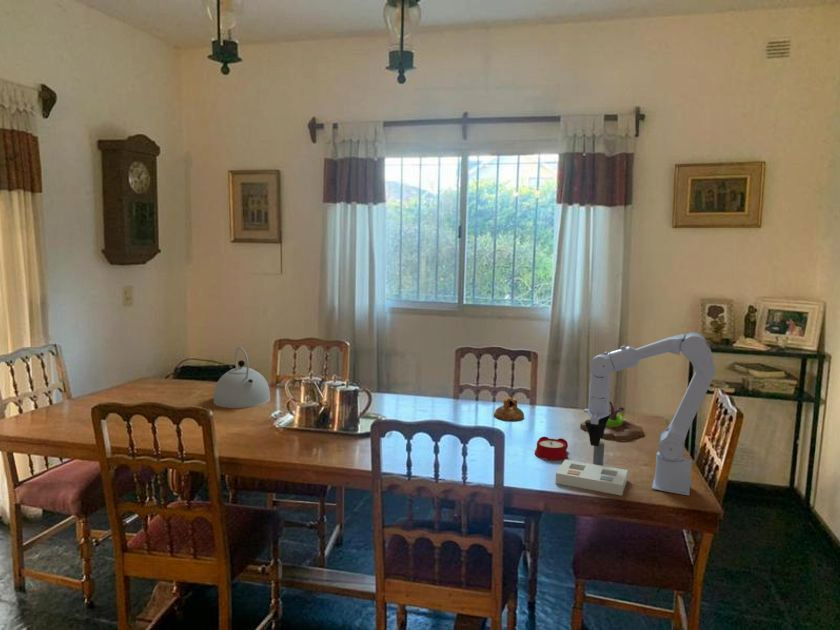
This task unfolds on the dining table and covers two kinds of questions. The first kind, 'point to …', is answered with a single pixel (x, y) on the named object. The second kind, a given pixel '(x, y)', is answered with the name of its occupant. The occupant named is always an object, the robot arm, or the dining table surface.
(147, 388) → the dining table surface
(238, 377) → the kettle
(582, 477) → the socket block
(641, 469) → the dining table surface
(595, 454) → the plug
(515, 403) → the brown pouch
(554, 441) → the alarm clock
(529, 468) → the dining table surface
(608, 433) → the plant
